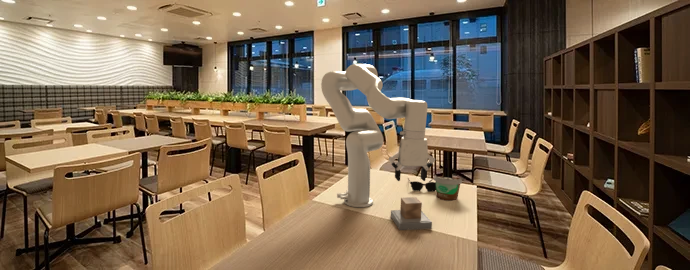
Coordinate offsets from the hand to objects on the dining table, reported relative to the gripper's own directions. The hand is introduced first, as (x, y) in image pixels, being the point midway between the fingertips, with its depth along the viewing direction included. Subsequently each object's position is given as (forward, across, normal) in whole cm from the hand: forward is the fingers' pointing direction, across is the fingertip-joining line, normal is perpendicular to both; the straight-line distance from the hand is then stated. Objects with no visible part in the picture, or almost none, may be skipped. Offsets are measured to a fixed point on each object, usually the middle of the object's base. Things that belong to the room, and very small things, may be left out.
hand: (410, 179), depth 121 cm
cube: (+14, +1, -1) cm, 14 cm away
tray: (+16, +1, -1) cm, 16 cm away
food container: (+17, +25, +21) cm, 37 cm away
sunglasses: (+18, +21, +40) cm, 49 cm away
